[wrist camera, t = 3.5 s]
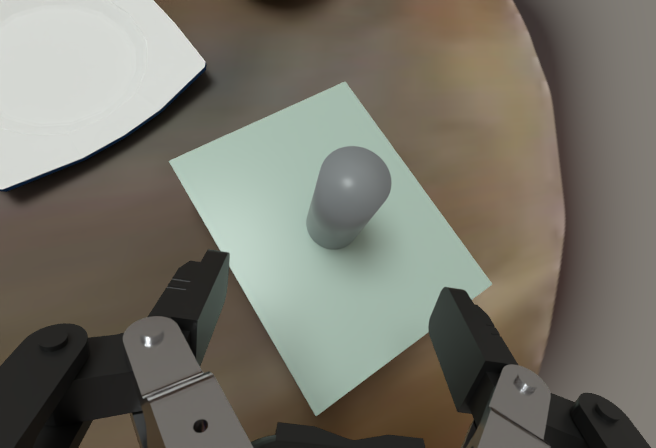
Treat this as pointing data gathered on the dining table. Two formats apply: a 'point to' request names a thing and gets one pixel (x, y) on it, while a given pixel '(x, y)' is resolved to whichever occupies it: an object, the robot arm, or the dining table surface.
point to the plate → (83, 79)
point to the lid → (327, 238)
